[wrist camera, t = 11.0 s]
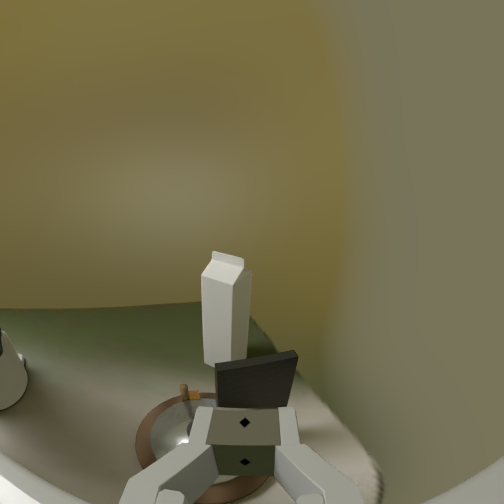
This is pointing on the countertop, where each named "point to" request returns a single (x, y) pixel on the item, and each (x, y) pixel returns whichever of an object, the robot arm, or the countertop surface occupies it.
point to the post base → (215, 495)
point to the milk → (225, 308)
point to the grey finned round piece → (229, 398)
